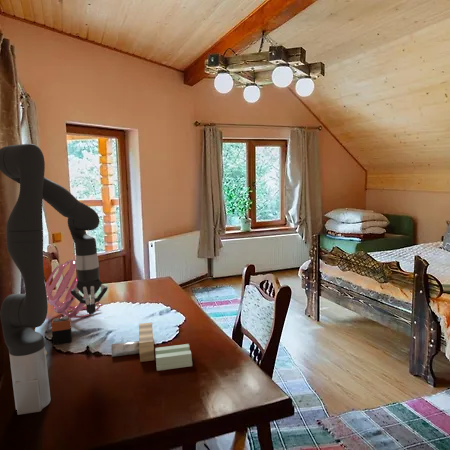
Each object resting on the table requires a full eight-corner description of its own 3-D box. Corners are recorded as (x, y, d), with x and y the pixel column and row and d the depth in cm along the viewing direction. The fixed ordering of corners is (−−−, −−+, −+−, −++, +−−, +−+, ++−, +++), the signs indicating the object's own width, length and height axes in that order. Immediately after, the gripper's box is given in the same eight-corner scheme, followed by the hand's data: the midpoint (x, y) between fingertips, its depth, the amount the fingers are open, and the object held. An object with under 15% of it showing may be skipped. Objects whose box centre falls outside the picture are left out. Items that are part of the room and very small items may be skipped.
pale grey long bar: (151, 347, 149) (150, 337, 148) (151, 354, 145) (150, 343, 144) (113, 352, 146) (112, 341, 145) (112, 359, 142) (111, 348, 141)
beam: (154, 359, 139) (153, 341, 138) (140, 361, 138) (138, 343, 137) (153, 339, 157) (152, 322, 156) (140, 340, 156) (139, 323, 155)
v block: (192, 366, 134) (191, 354, 133) (156, 370, 132) (156, 359, 131) (188, 352, 144) (188, 342, 143) (155, 357, 141) (155, 346, 141)
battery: (71, 342, 156) (69, 318, 155) (53, 345, 154) (50, 321, 153) (72, 338, 161) (70, 314, 159) (54, 340, 159) (52, 317, 157)
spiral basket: (115, 263, 204) (66, 240, 191) (122, 290, 180) (67, 265, 166) (86, 306, 207) (35, 286, 193) (89, 338, 182) (32, 317, 169)
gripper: (65, 270, 133) (70, 319, 136) (106, 267, 136) (109, 315, 138) (69, 265, 140) (73, 311, 143) (107, 262, 143) (111, 308, 146)
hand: (91, 313), depth 141 cm, fingers closed
